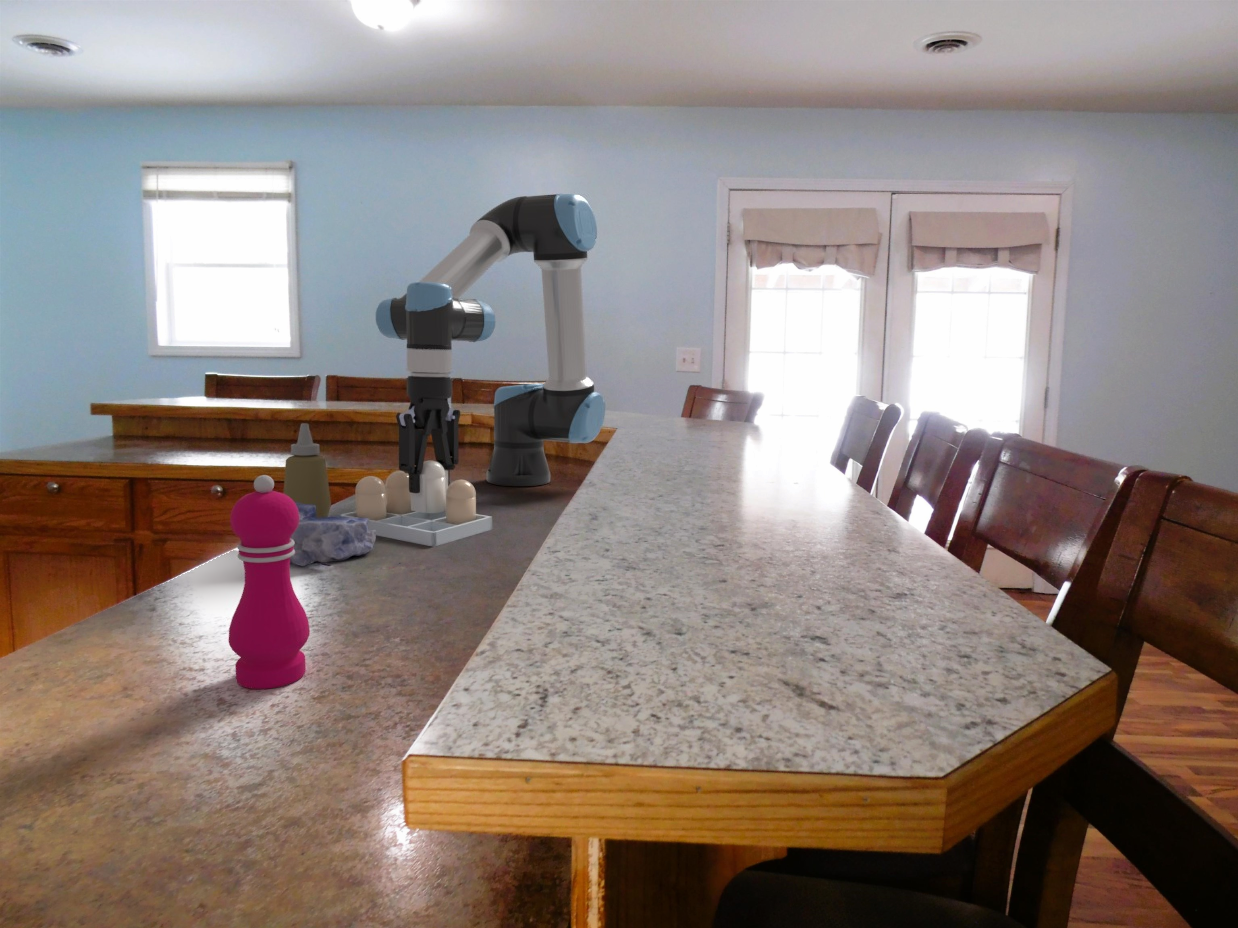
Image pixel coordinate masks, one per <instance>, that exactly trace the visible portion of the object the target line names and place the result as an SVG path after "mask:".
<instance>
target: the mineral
mask: <svg viewBox="0 0 1238 928" xmlns="http://www.w3.org/2000/svg"><path fill="white" fill-rule="evenodd" d="M295 504H296V506H297V508H298V511H299V525H298V527H297V529H296V530H295V532H294V533H293V534H292V535H291V539H293V540H294V542H295V544H294V546H293V547H294V548H293V549H294V550H295V553H294V555H293V556H291V557H290V564H291V563H292V564H294V565H297V566H301V567H302V566H303V567H304V566H305V567H306V566H308V565H310V564H312V563H315V562H318V563H320V564H321V565H322V566H325V567H326V566H327V567H328V566H329V567H331V566H332V564H326V563H328V562H329V563H330V562H336V561H345V560H347V559H349V558H350V557H352V556H355V557H357V556H358V557H359V556H362V555H365V554H367V553H368V552H370V551H372V549H374V544H375V542H376V540H377V538H376V537H377V535H376V530H368V529H367V528H368V522H369V519H368V518H356V517H338V516H332V515H330V516H328V517H323V518H317V517H316V507H315V505H308V504H300V503H295Z"/></svg>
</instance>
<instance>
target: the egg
mask: <svg viewBox="0 0 1238 928" xmlns="http://www.w3.org/2000/svg"><path fill="white" fill-rule="evenodd" d="M421 474H426V512H421V513H439V512H443V511H445V510H446V492H445V470H444V468H443V466H442V465H441V464H440V463H438V462H436V460H429V459H428V460H426V461H425V460H424V463H423V469H422V473H421ZM417 512H418V511H417Z"/></svg>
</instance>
